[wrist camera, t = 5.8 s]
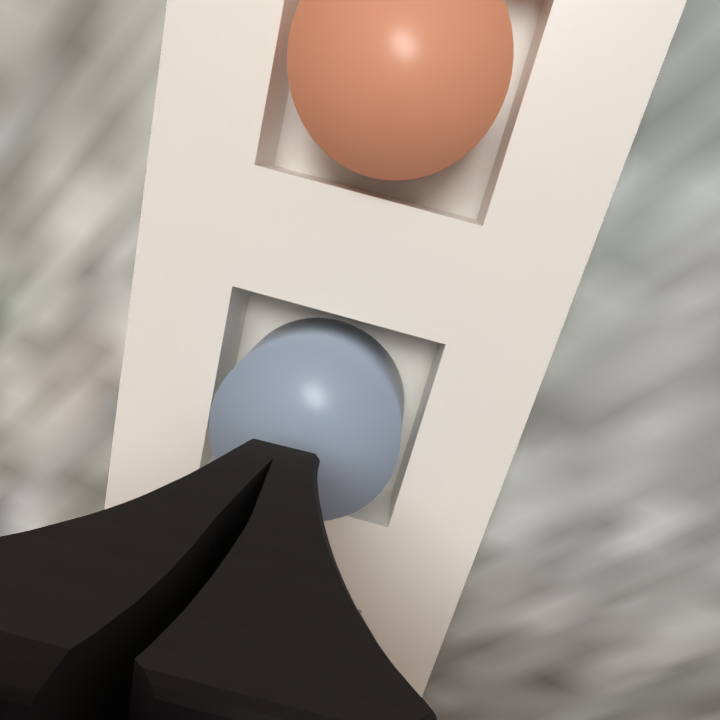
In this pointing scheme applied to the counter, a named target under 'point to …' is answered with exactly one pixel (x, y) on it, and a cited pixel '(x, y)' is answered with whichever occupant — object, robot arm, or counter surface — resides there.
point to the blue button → (318, 407)
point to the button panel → (376, 272)
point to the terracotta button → (399, 80)
